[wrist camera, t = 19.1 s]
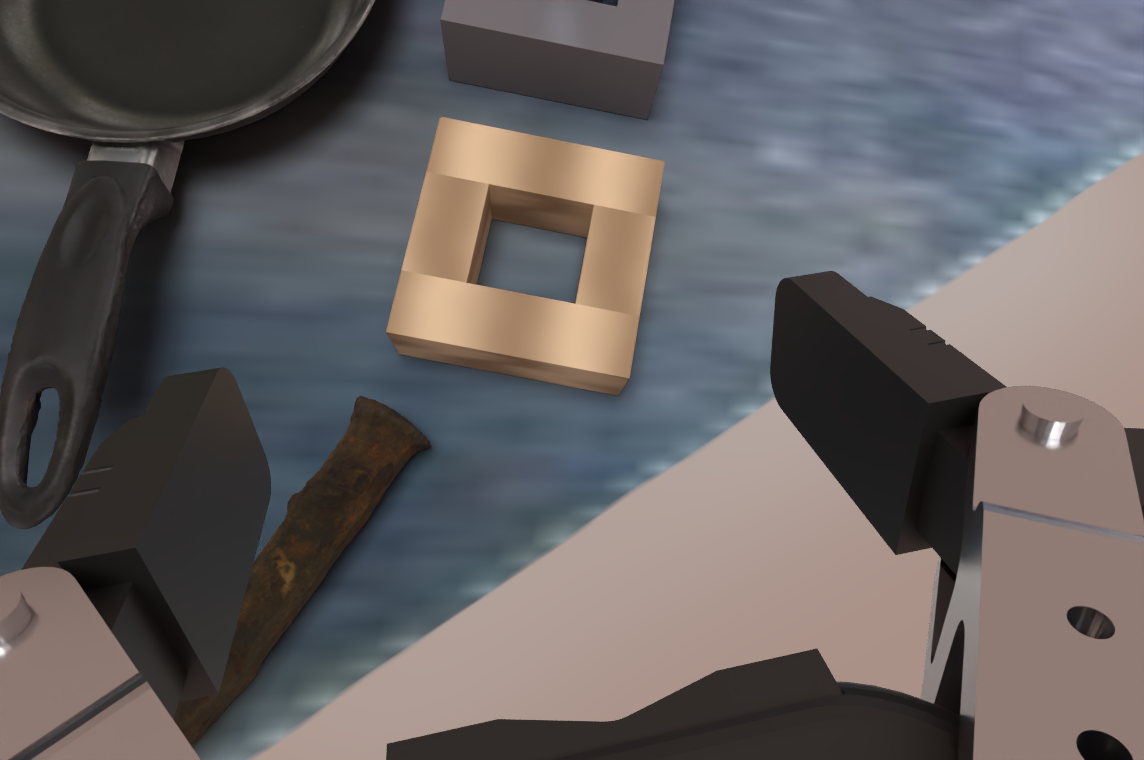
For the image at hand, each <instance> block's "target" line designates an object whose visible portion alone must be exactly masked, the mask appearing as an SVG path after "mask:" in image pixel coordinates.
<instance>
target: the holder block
mask: <svg viewBox="0 0 1144 760" xmlns="http://www.w3.org/2000/svg"><path fill="white" fill-rule="evenodd" d="M673 6H674V0H618V5H617V6H612V5H607V4H602V3H597V2H592V1H588V0H445V4H444V7H443V11H442V15H441V19H440V21H441V27H442V34H443V41H444V48H445V55H446V61H447V68H448V75H449V80H452V81H457V82H462V83H467V84H472V85H477V86H482V87H487V88H492V89H497V90H502V91H507V92H512V93H517V94H522V95H527V96H532V97H537V98H541V99H546V100H551V101H556V102H561V103H566V104H571V105H576V106H581V107H586V108H591V109H596V110H601V111H606V112H611V113H616V114H621V115H626V116H631V117H636V118H641V119H646V120H647V119H648V115H649V112H650V109H651V105H652V102H653V99H654V95H655V92H656V89H657V85H658V82H659V78H660V75H661V72H662V68H663V65H664V59H665V53H666V47H667V42H668V36H669V30H670V24H671V18H672V12H673Z"/></svg>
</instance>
